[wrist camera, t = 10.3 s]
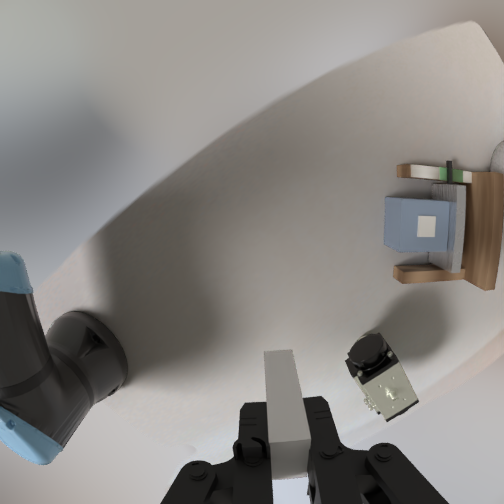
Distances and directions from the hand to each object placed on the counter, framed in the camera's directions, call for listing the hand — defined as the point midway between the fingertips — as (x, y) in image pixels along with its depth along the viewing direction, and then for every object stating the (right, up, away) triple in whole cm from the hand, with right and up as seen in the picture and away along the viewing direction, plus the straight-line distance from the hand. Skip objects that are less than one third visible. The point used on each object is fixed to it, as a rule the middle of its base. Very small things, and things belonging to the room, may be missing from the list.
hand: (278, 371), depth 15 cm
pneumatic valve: (+15, -7, +23) cm, 28 cm away
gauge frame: (+23, +10, +19) cm, 31 cm away
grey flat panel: (+23, +12, +18) cm, 32 cm away
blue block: (+19, +11, +19) cm, 29 cm away
